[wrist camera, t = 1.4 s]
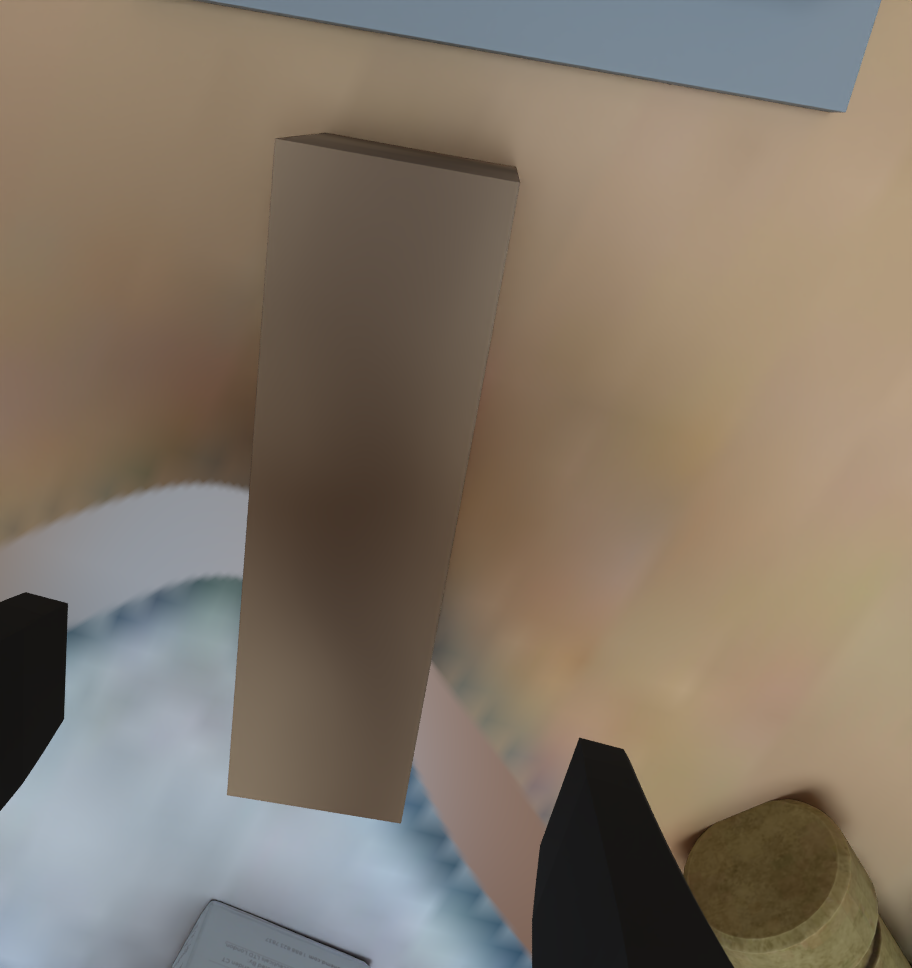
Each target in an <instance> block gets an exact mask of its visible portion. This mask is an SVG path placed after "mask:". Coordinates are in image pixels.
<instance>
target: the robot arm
mask: <svg viewBox="0 0 912 968" xmlns="http://www.w3.org/2000/svg"><path fill="white" fill-rule="evenodd" d="M67 612H68V604H67V603H64V602H61V601H57V600H53V599H49V598H45V597H42V596H38V595H34V594H30V593H22V594H20V595H17V596H14V597H12V598H9V599H7V600H4V601H2V602H0V811H1V809H2V808H3V807H4V806H5V805H6V803H7V802H8V801H9V800H10V799H11V797H12V796H13V795H14V794H15V792H16V791H17V790H18V789H19V787H20V786H21V785H22V784H23V782H24V781H25V779H26V778H27V776H28V775H29V773H30V772H31V770H32V769H33V767H34V766H35V764H36V763H37V761H38V760H39V758H40V757H41V755H42V754H43V752H44V750H45V749H46V747H47V746H48V744H49V742H50V741H51V739H52V738H53V736H54V734H55V733H56V731H57V730H58V728H59V726H60V725H61V723H62V721H63V720H64V703H65V674H66V644H67V614H68V613H67ZM532 968H734V966H733V964H732V963H731V961H730V960H729V958H728V956H727V954H726V953H725V951H724V949H723V947H722V946H721V944H720V942H719V941H718V939H717V937H716V935H715V934H714V932H713V930H712V928H711V927H710V925H709V923H708V921H707V920H706V918H705V916H704V914H703V912H702V910H701V909H700V907H699V905H698V903H697V901H696V899H695V898H694V896H693V894H692V892H691V890H690V888H689V886H688V884H687V882H686V880H685V878H684V876H683V874H682V872H681V870H680V868H679V866H678V864H677V862H676V860H675V858H674V857H673V855H672V853H671V850H670V848H669V846H668V844H667V842H666V840H665V838H664V836H663V834H662V832H661V830H660V827H659V825H658V823H657V821H656V819H655V817H654V814H653V812H652V810H651V808H650V806H649V804H648V801H647V799H646V797H645V795H644V792H643V790H642V788H641V785H640V783H639V781H638V779H637V776H636V774H635V772H634V769H633V767H632V765H631V762H630V760H629V758H628V756H627V754H626V753H625V751H624V749H621V748H617V747H613V746H609V745H605V744H602V743H598V742H594V741H590V740H586V739H582V738H579V740H578V743H577V746H576V749H575V751H574V754H573V757H572V759H571V762H570V765H569V768H568V770H567V773H566V776H565V779H564V781H563V784H562V787H561V790H560V792H559V795H558V798H557V801H556V803H555V806H554V809H553V812H552V814H551V817H550V820H549V823H548V825H547V828H546V831H545V834H544V836H543V839H542V842H541V845H540V852H539V861H538V869H537V878H536V888H535V897H534V908H533V918H532Z"/></svg>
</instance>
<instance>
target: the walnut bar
mask: <svg viewBox="0 0 912 968" xmlns="http://www.w3.org/2000/svg"><path fill="white" fill-rule="evenodd" d="M519 186H520V180H519V177H518V173H517V169H516V167H512V166H507V165H501V164H495V163H490V162H484V161H479V160H473V159H468V158H462V157H457V156H451V155H446V154H440V153H435V152H429V151H423V150H418V149H412V148H407V147H401V146H396V145H390V144H385V143H379V142H374V141H368V140H363V139H357V138H352V137H346V136H340V135H335V134H329V133H320V134H311V135H302V136H294V137H285V138H276V139H275V148H274V161H273V175H272V189H271V202H270V216H269V229H268V243H267V257H266V270H265V284H264V298H263V311H262V325H261V339H260V352H259V366H258V380H257V393H256V407H255V421H254V434H253V448H252V461H251V475H250V489H249V502H248V516H247V530H246V543H245V558H244V571H243V584H242V598H241V612H240V625H239V639H238V652H237V666H236V680H235V693H234V707H233V721H232V734H231V748H230V762H229V775H228V789H227V795H230V796H236V797H242V798H248V799H254V800H261V801H267V802H273V803H279V804H285V805H291V806H297V807H303V808H309V809H316V810H322V811H328V812H334V813H340V814H346V815H352V816H358V817H364V818H371V819H377V820H383V821H389V822H395V823H401V820H402V815H403V810H404V804H405V799H406V793H407V788H408V783H409V777H410V772H411V767H412V761H413V756H414V750H415V744H416V740H417V734H418V729H419V723H420V718H421V713H422V707H423V701H424V697H425V691H426V686H427V680H428V675H429V670H430V664H431V659H432V654H433V648H434V643H435V638H436V632H437V627H438V621H439V616H440V611H441V605H442V600H443V595H444V589H445V584H446V578H447V573H448V568H449V562H450V557H451V552H452V546H453V541H454V535H455V530H456V525H457V519H458V514H459V509H460V503H461V498H462V492H463V487H464V482H465V476H466V471H467V466H468V460H469V455H470V449H471V444H472V439H473V433H474V428H475V423H476V417H477V412H478V406H479V401H480V396H481V390H482V385H483V379H484V374H485V369H486V363H487V358H488V353H489V347H490V342H491V336H492V331H493V326H494V320H495V315H496V310H497V304H498V299H499V293H500V288H501V283H502V277H503V272H504V267H505V261H506V256H507V250H508V245H509V240H510V234H511V229H512V224H513V218H514V213H515V207H516V202H517V197H518V191H519Z"/></svg>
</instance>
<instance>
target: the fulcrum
mask: <svg viewBox="0 0 912 968" xmlns="http://www.w3.org/2000/svg"><path fill="white" fill-rule="evenodd" d="M194 1H200V2H205V3H211V4H217V5H222V6H228V7H234V8H240V9H245V10H251V11H257V12H262V13H268V14H274V15H279V16H285V17H291V18H297V19H302V20H308V21H314V22H319V23H325V24H331V25H336V26H342V27H348V28H353V29H359V30H365V31H371V32H376V33H382V34H388V35H393V36H399V37H405V38H410V39H416V40H422V41H428V42H433V43H439V44H445V45H450V46H456V47H462V48H467V49H473V50H479V51H484V52H490V53H496V54H502V55H507V56H513V57H519V58H524V59H530V60H536V61H541V62H547V63H553V64H559V65H564V66H570V67H576V68H581V69H587V70H593V71H598V72H604V73H610V74H615V75H621V76H627V77H633V78H638V79H644V80H650V81H655V82H661V83H667V84H672V85H678V86H684V87H690V88H695V89H701V90H707V91H712V92H718V93H724V94H729V95H735V96H741V97H747V98H752V99H758V100H764V101H769V102H775V103H781V104H786V105H792V106H798V107H803V108H809V109H815V110H821V111H826V112H846V110H847V106H848V103H849V100H850V97H851V94H852V91H853V87H854V84H855V81H856V78H857V75H858V72H859V69H860V65H861V62H862V59H863V56H864V53H865V50H866V47H867V43H868V40H869V37H870V34H871V31H872V28H873V24H874V21H875V18H876V15H877V12H878V9H879V6H880V2H881V0H194Z"/></svg>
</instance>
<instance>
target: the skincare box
mask: <svg viewBox="0 0 912 968" xmlns="http://www.w3.org/2000/svg"><path fill="white" fill-rule="evenodd" d="M171 968H370V967H369V966H368V965H367V964H366V963H365V962H364V961H361V960H359V959H357V958H354V957H352V956H350V955H348V954H345V953H343V952H340V951H338V950H335V949H333V948H331V947H328V946H326V945H323V944H321V943H318V942H316V941H313V940H311V939H308V938H306V937H304V936H301V935H299V934H296V933H294V932H292V931H289V930H287V929H284V928H282V927H279V926H277V925H275V924H272V923H270V922H268V921H266V920H263V919H261V918H259V917H256V916H253V915H251V914H249V913H246V912H244V911H241V910H238V909H236V908H233V907H231V906H228V905H226V904H223V903H221V902H218V901H211V902H210V903H209V904H208V905H207V907H206V908H205V910H204V911H203V913H202V914H201V915H200V917H199V919H198V921H197V923H196V924H195V926H194V928H193V930H192V931H191V933H190V935H189V937H188V938H187V940H186V942H185V944H184V945H183V947H182V949H181V951H180V953H179V954H178V956H177V958H176V960H175V962H174V963H173V965H172V967H171Z"/></svg>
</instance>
